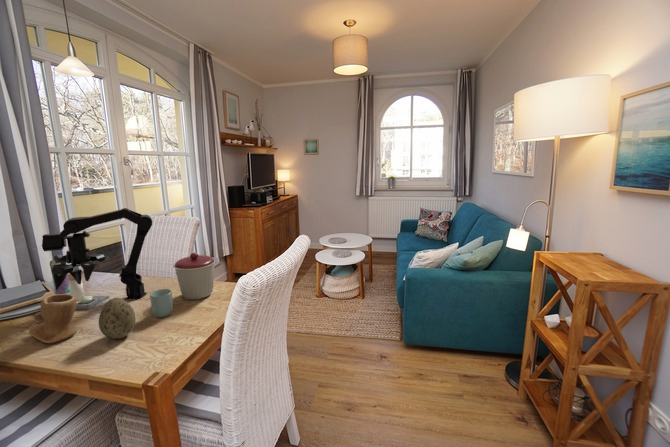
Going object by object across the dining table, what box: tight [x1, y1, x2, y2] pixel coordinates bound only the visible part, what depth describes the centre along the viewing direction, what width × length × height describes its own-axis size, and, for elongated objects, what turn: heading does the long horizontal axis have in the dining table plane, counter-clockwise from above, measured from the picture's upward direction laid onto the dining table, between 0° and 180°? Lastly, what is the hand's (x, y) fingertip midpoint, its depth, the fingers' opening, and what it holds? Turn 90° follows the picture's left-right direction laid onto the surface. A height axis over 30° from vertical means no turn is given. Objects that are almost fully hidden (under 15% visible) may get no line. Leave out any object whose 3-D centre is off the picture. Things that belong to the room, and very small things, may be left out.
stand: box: [33, 310, 44, 323], centre depth 124 cm, size 7×7×3 cm
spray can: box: [49, 257, 70, 295], centre depth 141 cm, size 6×6×20 cm
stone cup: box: [28, 293, 77, 344], centre depth 111 cm, size 15×12×15 cm
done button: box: [80, 295, 93, 304], centre depth 133 cm, size 4×4×2 cm
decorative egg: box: [98, 297, 137, 340], centre depth 109 cm, size 11×11×15 cm
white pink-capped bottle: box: [67, 273, 86, 301], centre depth 137 cm, size 5×5×12 cm
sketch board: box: [75, 295, 110, 311], centre depth 136 cm, size 16×12×2 cm
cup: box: [149, 288, 174, 318], centre depth 126 cm, size 8×8×10 cm
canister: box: [172, 252, 216, 301], centre depth 143 cm, size 18×18×21 cm
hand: (83, 282), depth 132 cm, fingers open, 3 cm apart
